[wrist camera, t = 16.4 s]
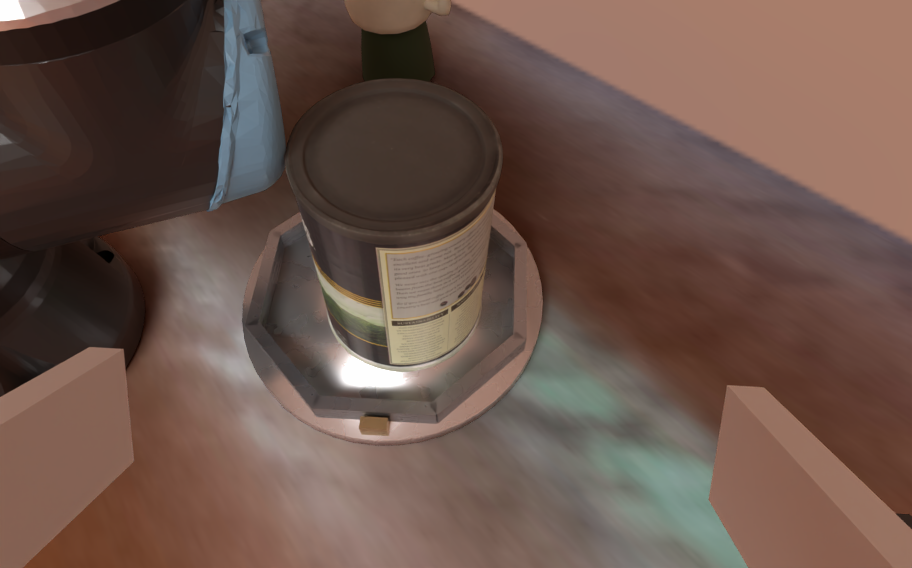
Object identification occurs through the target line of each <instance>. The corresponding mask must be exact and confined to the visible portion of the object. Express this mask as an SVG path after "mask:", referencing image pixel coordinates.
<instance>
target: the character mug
mask: <svg viewBox="0 0 912 568" xmlns="http://www.w3.org/2000/svg"><path fill="white" fill-rule="evenodd" d="M344 2H345V6H346V8H347V11H348V13H349V15H350V17H351V19H352V21H353V23H355V24H356V25H358V26H359V27H360V28H362V48H361V49H362V71H363V79H364V80H365V81H370V80H377V79H389V78H402V79H416V80H422V81H427V82H429V81H430V80H431V79H432V77H433V76H434V74H435V70H434V62H433V55H432V49H431V43H430V38H429V33H428V29H427V24H426V20H427V18H428V17H429V15H430V14H431V12H432V13H435V14H437V15H440V16H446V15H449V12H450V9H451V0H344Z"/></svg>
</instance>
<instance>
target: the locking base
mask: <svg viewBox="0 0 912 568" xmlns="http://www.w3.org/2000/svg"><path fill="white" fill-rule="evenodd" d="M542 306H543V298H542V286H541V281H540V277H539V273H538V269H537V266H536V264H535V261H534V259H533V256H532V254H531V252H530V250H529V248H528V247H527V243H526V241H524V240H523V238H522V237H521V236H520V235H519V233H518V232H517V231H516V229H515V228H514V227H513V226H512V225H511V224H510V223H509V222H508V221H507V220H506V219H505V218H504V217H503V216H502V215H501V214H500V213H498V212H497V211H496V210H494V209H493V216H492V223H491V231H490V238H489V245H488V254H487V261H486V269H485V276H484V284H483V291H482V310H481V315H480V319H479V322H478V325H477V327H476V330H475V332H474V334H473V335H472V337H471V338H470V340H469V341H468V342H467V343H466V345H465V346H464V347H463V348H462V349H461V350H460V351H459V352H458V353H456V354H455V355H454V356H453V357H451V358H449V359H447V360H446V361H444V362H442V363H440V364H437V365H435V366H432V367H429V368H426V369H422V370H417V371H408V372H395V371H388V370H383V369H379V368H376V367H373V366H370V365H368V364H365V363H363V362H362V361H360V360H358V359H357V358H355V357H354V356H352V355H351V354H350V353H348V352H347V351H346V350H345V349H344V348H343V347H342V346H341V344H340V343H339V342H338V340H337V339H336V337H335V335H334V334H333V331H332V329H331V327H330V324H329V320H328V316H327V308H326V304H325V301H324V297H323V293H322V289H321V285H320V282H319V278H318V275H317V271H316V268H315V264H314V260H313V257H312V253H311V250H310V246H309V243H308V239H307V236H306V232H305V229H304V225H303V221H302V217H301V214H300V212H299V213H297V214H296V215H294V216H293V217H291V218H289V219H288V220H286V221H285V222H283V223H282V224H280V225H278V226H277V227H275V228H274V229H272V230H271V231H270V232H269V235H268V239H267V243H266V247H265V249H264V250H263V252H262V253H261V255H260V256H259V258H258V260H257V262H256V264H255V266H254V268H253V270H252V272H251V275H250V278H249V281H248V284H247V287H246V292H245V297H244V302H243V318H242V322H243V331H244V339H245V343H246V347H247V350H248V354H249V357H250V359H251V361H252V363H253V365H254V368H255V370H256V372H257V374H258V375H259V377H260V378H261V380H262V381H263V383H264V384H265V386H266V387H267V389H268V390H269V391H270V393H271V394H272V395H273V396H274V397H275V399H276V400H277V401H278V402H279V403H280V404H281V405H282V406H283V407H284V408H285V409H286V410H287V411H289V412H290V413H291V414H292V415H294V416H295V417H296V418H297V419H299V420H300V421H302V422H304V423H305V424H307V425H309V426H310V427H312V428H314V429H315V430H318V431H320V432H323V433H325V434H327V435H330V436H332V437H335V438H339V439H342V440H346V441H350V442H354V443H361V444H369V445H404V444H411V443H418V442H423V441H426V440H430V439H434V438H437V437H441V436H443V435H446V434H448V433H451V432H453V431H455V430H458V429H460V428H462V427H464V426H466V425H467V424H469V423H471V422H473V421H474V420H476V419H478V418H479V417H481V416H482V415H483V414H485V413H486V412H487V411H489V410H490V409H491V408H492V407H494V406H495V405H496V404H497V403H498V402H499V401H500V400H501V399H502V398H503V397H504V396H505V395H506V394H507V393H508V392H509V391H510V390H511V388H512V387H513V386H514V384H515V383H516V382H517V380H518V379H519V378H520V377H521V375H522V373H523V371H524V370H525V368H526V366H527V364H528V362H529V360H530V358H531V356H532V353H533V350H534V348H535V345H536V342H537V338H538V333H539V329H540V324H541V320H542Z"/></svg>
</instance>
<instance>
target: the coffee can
mask: <svg viewBox="0 0 912 568" xmlns="http://www.w3.org/2000/svg"><path fill="white" fill-rule="evenodd" d="M502 164H503V149H502V144H501V140H500V136H499V134H498V132H497V130H496V128H495V126H494V124H493V123H492V121H491V119H490V118H489V117H488V116H487V115H486V114H485V112H484V111H483V110H482V109H481V108H479V107H478V106H477V105H476V104H475V103H474V102H472V101H471V100H469V99H468V98H466V97H464V96H463V95H461V94H459V93H458V92H456V91H454V90H452V89H450V88H447V87H444V86H442V85H438V84H435V83H431V82H427V81H422V80H416V79H402V78H389V79H377V80H370V81H365V82H361V83H357V84H354V85H350V86H348V87H346V88H343V89H340V90H338V91H336V92H334V93H332V94H330V95H328V96H327V97H325V98H323V99H322V100H320V101H319V102H317V103H316V104H315V105H313V106H312V107H311V108H310V109H309V110H307V112H306V113H305V114H304V115H303V116H302V117H301V118H300V120H299V121H298V122H297V124H296V125H295V127H294V129H293V130H292V133H291V135H290V138H289V140H288V143H287V147H286V152H285V166H286V173H287V177H288V180H289V183H290V186H291V188H292V191H293V193H294V195H295V197H296V200H297V203H298V207H299V210H300V214H301V217H302V221H303V225H304V229H305V232H306V236H307V239H308V243H309V246H310V250H311V253H312V257H313V260H314V264H315V268H316V271H317V275H318V278H319V282H320V285H321V289H322V293H323V297H324V301H325V304H326V308H327V316H328V320H329V324H330V327H331V329H332V331H333V334H334V335H335V337H336V339H337V340H338V342H339V343H340V344H341V346H342V347H343V348H344V349H345V350H346V351H347V352H348V353H350V354H351V355H352V356H354V357H355V358H357V359H358V360H360V361H362V362H363V363H365V364H368V365H370V366H373V367H376V368H379V369H383V370H388V371H395V372H408V371H417V370H422V369H426V368H429V367H432V366H435V365H437V364H440V363H442V362H444V361H446V360H447V359H449V358H451V357H453V356H454V355H455V354H456V353H458V352H459V351H460V350H461V349H462V348H463V347H464V346H465V345H466V343H467V342H468V341H469V340H470V338H471V337H472V335H473V334H474V332H475V330H476V327H477V325H478V322H479V319H480V315H481V310H482V291H483V284H484V276H485V269H486V261H487V254H488V245H489V238H490V231H491V223H492V216H493V208H494V200H495V193H496V187H497V185H498V182H499V179H500V175H501V170H502Z"/></svg>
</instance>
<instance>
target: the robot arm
mask: <svg viewBox="0 0 912 568" xmlns="http://www.w3.org/2000/svg"><path fill="white" fill-rule="evenodd" d="M267 42H268V38H267V34H266V29H265V24H264V16H263V11H262V6H261V1H260V0H0V568H23V567H24V566H25V565H26V564H27V563H28V562H29V561H30V560H31V559H32V558H33V557H34V556H35V555H36V554H37V553H38V552H39V551H40V550H41V549H42V548H43V547H45V546H46V545H47V544H48V543H49V542H50V541H51V540H52V539H53V538H54V537H55V536H56V535H57V534H58V533H59V532H60V531H61V530H62V529H63V528H64V527H66V526H67V525H68V524H69V523H70V522H71V521H72V520H73V519H74V518H75V517H76V516H77V515H78V514H79V513H80V512H81V511H82V510H83V509H84V508H85V507H87V506H88V505H89V504H90V503H91V502H92V501H93V500H94V499H95V498H96V497H97V496H98V495H99V494H100V493H101V492H102V491H103V490H104V489H105V488H106V487H108V486H109V485H110V484H111V483H112V482H113V481H114V480H115V479H116V478H117V477H118V476H119V475H120V474H121V473H122V472H123V471H124V470H125V469H126V468H127V467H129V466H130V465H131V464H132V463H133V462H134V457H133V446H132V435H131V424H130V414H129V403H128V392H127V381H126V370H125V368H126V367H127V365H128V363H129V362H130V360H131V358H132V356H133V354H134V352H135V350H136V348H137V345H138V343H139V340H140V337H141V334H142V330H143V326H144V319H145V301H144V295H143V291H142V288H141V285H140V283H139V280H138V278H137V277H136V275H135V273H134V272H133V271H132V269H131V268H130V267H129V265H128V264H127V263H126V262H125V261H124V259H123V258H122V257H121V256H120V255H119V254H118V252H117V251H116V250H115V249H114V248H113V247H111V246H110V245H109V244H108V243H107V242H105V241H104V240H103V239H101V238H99V237H98V236H101V235H105V234H109V233H113V232H117V231H121V230H126V229H130V228H134V227H138V226H142V225H146V224H150V223H154V222H159V221H163V220H167V219H171V218H175V217H179V216H183V215H187V214H192V213H196V212H200V211H204V210H207V211H208V212H209V211H213V210H214V209H218V208H219V207H220V206H221V204H223V203H226V202H229V201H232V200H236V199H239V198H242V197H245V196H248V195H252V194H255V193H258V192H261V191H264V190H266V189H267V188H269V187H270V186H272V185H273V184H274V183H275V182H276V181H277V180H278V179H279V178H280V176H281V175H282V173H283V171H284V169H285V152H286V143H285V134H284V126H283V119H282V112H281V106H280V100H279V94H278V88H277V83H276V77H275V72H274V67H273V62H272V57H271V53H270V50H269V48H268V45H267ZM709 501H710V503H711V505H712V506H713V508H714V510H715V511H716V513H717V515H718V516H719V518H720V520H721V522H722V523H723V525H724V527H725V528H726V530H727V532H728V534H729V535H730V537H731V539H732V540H733V542H734V544H735V546H736V547H737V549H738V551H739V552H740V554H741V556H742V558H743V559H744V561H745V563H746V564H747V566H748V568H912V516H911V515H909V514H895V513H894V512H893V511H892V510H891V509H890V508H889V507H888V506H887V505H886V504H885V503H884V502H883V501H882V500H881V499H880V498H879V497H877V496H876V495H875V494H874V493H873V492H872V491H871V490H870V489H869V488H868V487H867V486H866V485H865V484H864V483H863V482H862V481H861V480H860V479H859V478H858V477H857V476H856V475H855V474H854V473H852V472H851V471H850V470H849V469H848V468H847V467H846V466H845V465H844V464H843V463H842V462H841V461H840V460H839V459H838V458H837V457H836V456H835V455H834V454H833V453H832V452H831V451H830V450H829V449H827V448H826V447H825V446H824V445H823V444H822V443H821V442H820V441H819V440H818V439H817V438H816V437H815V436H814V435H813V434H812V433H811V432H810V431H809V430H808V429H807V428H806V427H805V426H804V425H802V424H801V423H800V422H799V421H798V420H797V419H796V418H795V417H794V416H793V415H792V414H791V413H790V412H789V411H788V410H787V409H786V408H785V407H784V406H783V405H782V404H781V403H780V402H778V401H777V400H776V399H775V398H774V397H773V396H772V395H771V394H770V393H769V392H768V391H767V390H766V389H765V388H764V387H748V386H732V385H727V390H726V396H725V402H724V408H723V414H722V421H721V427H720V433H719V439H718V445H717V451H716V458H715V464H714V470H713V476H712V482H711V489H710V495H709Z"/></svg>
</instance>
